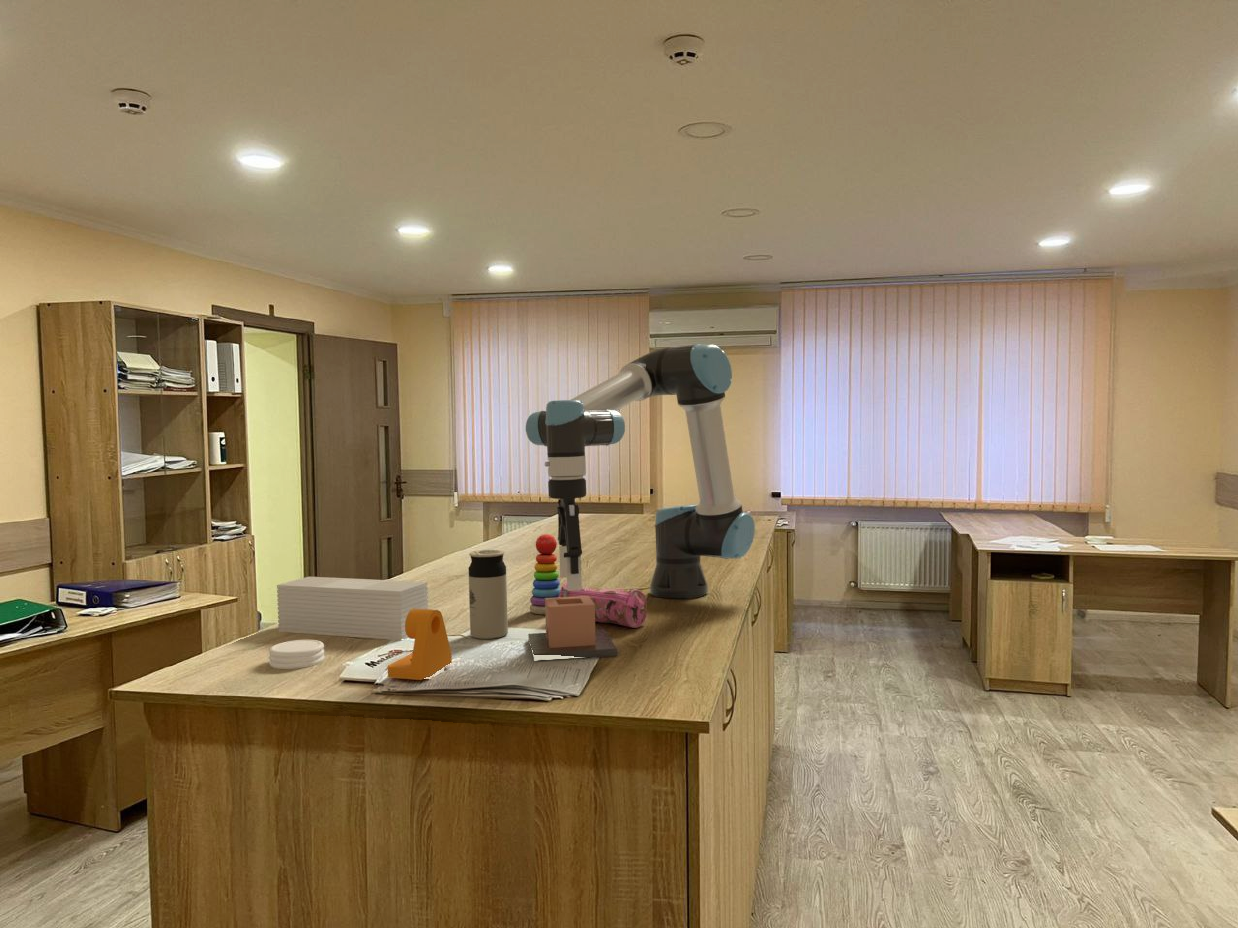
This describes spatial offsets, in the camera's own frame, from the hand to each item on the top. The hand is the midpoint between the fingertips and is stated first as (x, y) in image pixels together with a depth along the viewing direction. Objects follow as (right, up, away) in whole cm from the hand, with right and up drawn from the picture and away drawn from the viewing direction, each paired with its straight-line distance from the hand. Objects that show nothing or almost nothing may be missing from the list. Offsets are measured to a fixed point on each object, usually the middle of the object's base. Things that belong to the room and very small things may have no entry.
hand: (570, 583), depth 170 cm
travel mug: (-18, -13, +12) cm, 26 cm away
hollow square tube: (0, -12, 0) cm, 12 cm away
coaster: (-53, -15, -6) cm, 55 cm away
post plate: (0, -13, 0) cm, 13 cm away
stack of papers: (-50, -14, +20) cm, 55 cm away
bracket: (-27, -15, -15) cm, 34 cm away
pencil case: (+6, -12, +22) cm, 25 cm away
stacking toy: (-8, -12, +35) cm, 37 cm away
